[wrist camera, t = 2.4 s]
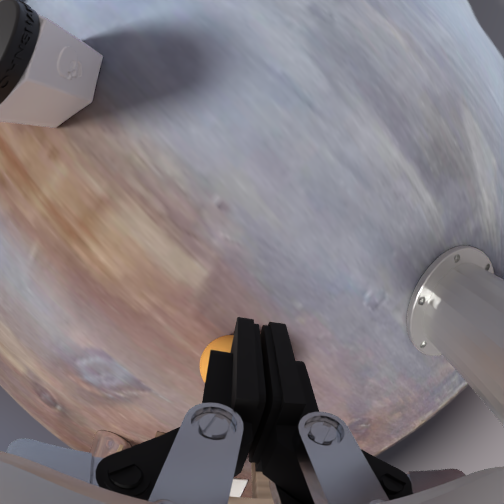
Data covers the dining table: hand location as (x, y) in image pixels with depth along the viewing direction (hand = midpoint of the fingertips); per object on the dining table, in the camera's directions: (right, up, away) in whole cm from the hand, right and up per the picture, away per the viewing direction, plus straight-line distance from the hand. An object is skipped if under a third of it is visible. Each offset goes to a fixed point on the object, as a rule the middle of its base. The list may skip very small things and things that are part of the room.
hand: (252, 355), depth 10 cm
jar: (-17, +19, +9) cm, 27 cm away
